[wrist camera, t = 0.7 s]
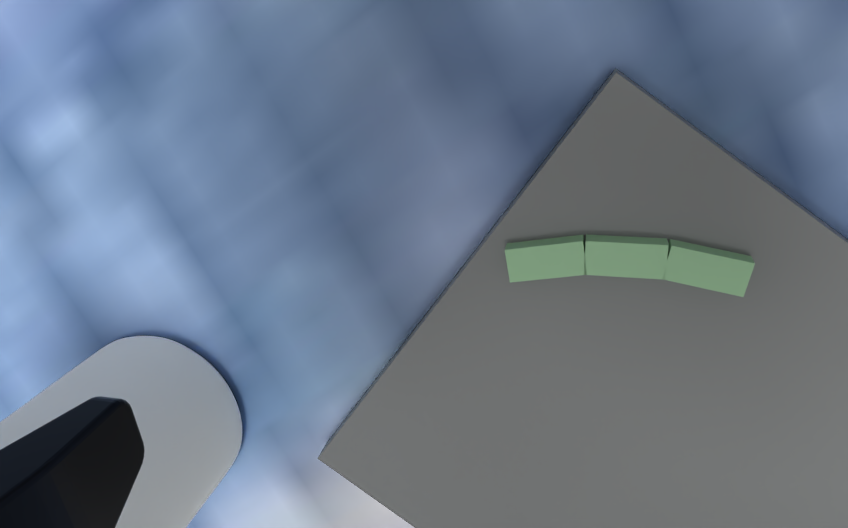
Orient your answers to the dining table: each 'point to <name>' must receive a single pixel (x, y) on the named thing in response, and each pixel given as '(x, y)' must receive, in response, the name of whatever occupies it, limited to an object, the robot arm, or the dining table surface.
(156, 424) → the can
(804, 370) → the dial board
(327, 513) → the dining table surface
